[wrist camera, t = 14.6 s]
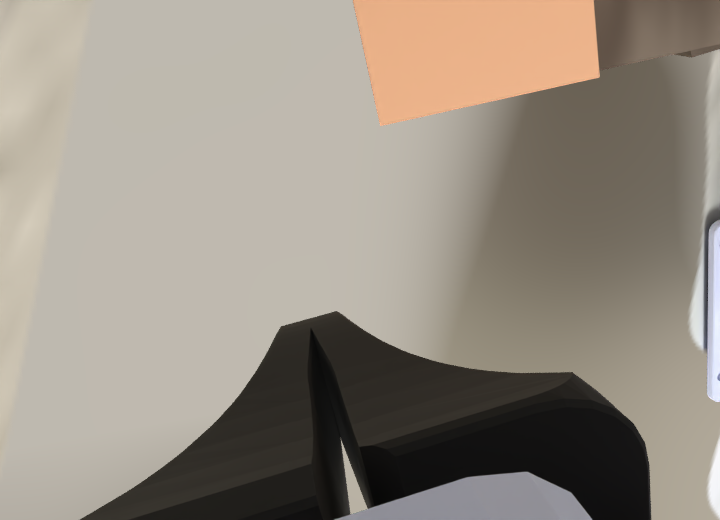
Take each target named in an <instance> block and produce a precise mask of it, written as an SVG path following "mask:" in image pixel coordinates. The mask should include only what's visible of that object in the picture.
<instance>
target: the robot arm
mask: <svg viewBox="0 0 720 520" xmlns="http://www.w3.org/2000/svg"><path fill="white" fill-rule="evenodd" d="M719 244H720V220H718V221H716V222H714V223H713V224H712V225H711V227H710V229H709V252H708V353H707V394H708V396H709V397H710V398H711V399H713V400H714V401H716V402H720V245H719ZM340 437H341V439H340ZM341 440H342V443H343V445H344V448H345V451H346V453H347V456H348V458H349V461H350V464H351V466H352V469H353V471H354V474H355V477H356V479H357V482H358V484H359V487H360V490H361V492H362V495H363V497H364V500H365V503H366V505H367V508H368V509H366V510H363V511H360V512H357V513H354V514H350V508H349V500H348V492H347V484H346V477H345V469H344V462H343V454H342V446H341ZM650 502H651V501H650V472H649V461H648V456H647V451H646V446H645V442H644V441H643V439H642V437H641V435H640V434H639V432H638V430H637V429H636V427H635V426H634V424H633V423H632V422H631V421H630V420H629V419H628V418H627V417H626V416H624V415H623V414H622V413H621V412H620V411H619V410H618V409H616V408H615V407H614V406H613V405H612V404H611V403H610V402H609V401H608V400H607V399H606V398H605V397H603V396H602V395H601V394H600V393H599V392H598V391H596V390H595V389H594V388H592V387H591V386H590V385H588V384H587V383H586V382H585V381H583V380H582V379H581V378H579V377H578V376H576V375H575V374H574V373H573V372H565V373H507V372H495V371H484V370H476V369H469V368H464V367H458V366H454V365H448V364H444V363H439V362H436V361H432V360H429V359H425V358H423V357H419V356H416V355H413V354H410V353H407V352H405V351H402V350H400V349H398V348H396V347H394V346H392V345H389V344H387V343H385V342H383V341H381V340H379V339H378V338H376V337H374V336H373V335H371V334H369V333H368V332H366V331H364V330H363V329H361V328H360V327H358V326H357V325H356V324H354V323H353V322H351V321H350V320H348V319H347V318H346V317H345V316H343V315H342V314H340V313H339V312H337V311H335V312H332V313H329V314H325V315H321V316H317V317H314V318H310V319H307V320H303V321H300V322H296V323H292V324H288V325H285V326H281V328H280V329H279V331H278V333H277V334H276V336H275V338H274V340H273V342H272V344H271V346H270V348H269V350H268V352H267V354H266V356H265V357H264V359H263V360H262V362H261V364H260V366H259V367H258V369H257V371H256V372H255V374H254V375H253V377H252V378H251V380H250V381H249V382H248V384H247V385H246V387H245V388H244V390H243V391H242V392H241V394H240V395H239V396H238V397H237V399H236V400H235V401H234V402H233V403H232V405H231V406H230V407H229V408H228V409H227V410H226V411H225V412H224V414H223V415H222V416H221V417H220V418H219V419H218V420H217V421H216V422H215V423H214V424H213V425H212V426H211V427H210V428H209V429H208V430H206V431H205V432H204V433H203V434H202V435H201V436H200V437H199V438H198V439H197V440H195V441H194V442H193V443H192V444H191V445H190V446H189V447H187V449H185V450H184V451H183V452H182V453H181V454H179V455H178V456H177V457H175V458H174V459H173V460H172V461H170V462H169V463H168V464H166V465H165V466H164V467H162V468H161V469H160V470H158V471H157V472H155V473H154V474H153V475H151V476H150V477H148V478H147V479H146V480H144V481H143V482H141V483H140V484H138V485H137V486H135V487H134V488H132V489H131V490H129V491H127V492H126V493H124V494H123V495H121V496H119V497H118V498H116V499H114V500H113V501H111V502H109V503H107V504H106V505H104V506H102V507H101V508H99V509H97V510H96V511H94V512H93V513H91V514H89V515H87V516H85V517H84V518H82V519H80V520H651V503H650Z"/></svg>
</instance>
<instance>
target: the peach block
mask: <svg viewBox="0 0 720 520" xmlns="http://www.w3.org/2000/svg"><path fill="white" fill-rule="evenodd" d="M353 3H354V8H355V12H356V17H357V21H358V26H359V31H360V35H361V39H362V44H363V49H364V53H365V58H366V62H367V66H368V72H369V75H370V81H371V85H372V90H373V95H374V99H375V104H376V108H377V113H378V117H379V122H380V125H381V126H382V125H387V124H391V123H396V122H400V121H405V120H409V119H414V118H418V117H423V116H428V115H432V114H436V113H441V112H446V111H450V110H455V109H459V108H464V107H468V106H473V105H477V104H482V103H486V102H490V101H495V100H500V99H504V98H508V97H513V96H518V95H522V94H527V93H531V92H536V91H540V90H545V89H549V88H554V87H558V86H563V85H567V84H572V83H576V82H581V81H586V80H590V79H594V78H599V77H600V76H599V75H600V74H599V62H598V49H597V37H596V24H595V12H594V0H353Z"/></svg>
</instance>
